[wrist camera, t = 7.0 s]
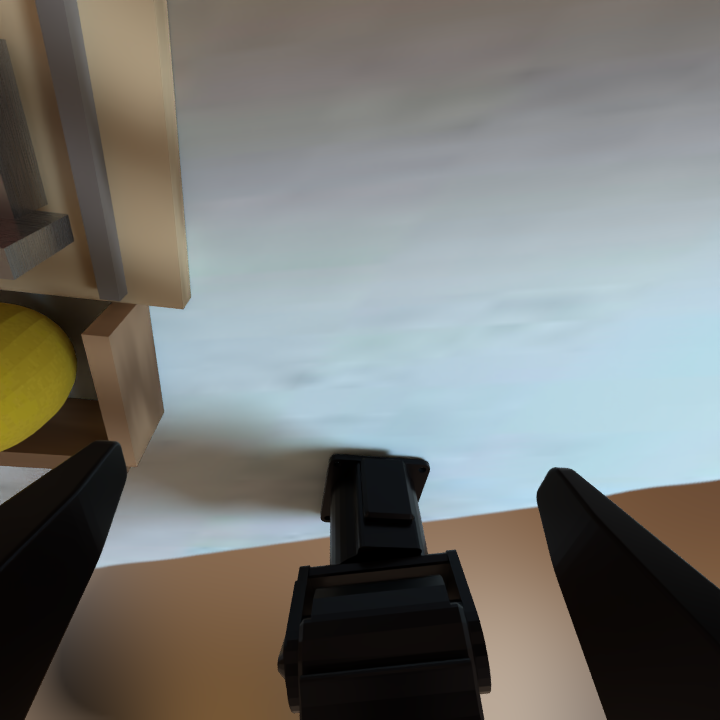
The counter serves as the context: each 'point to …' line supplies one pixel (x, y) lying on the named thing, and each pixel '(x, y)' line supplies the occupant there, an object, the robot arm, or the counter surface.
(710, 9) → the counter surface
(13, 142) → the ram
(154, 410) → the open wooden crate
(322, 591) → the robot arm
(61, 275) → the wooden board with rails
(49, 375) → the lemon
